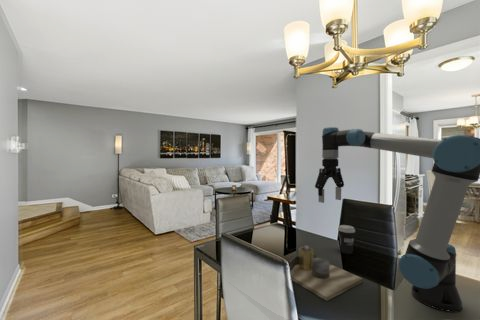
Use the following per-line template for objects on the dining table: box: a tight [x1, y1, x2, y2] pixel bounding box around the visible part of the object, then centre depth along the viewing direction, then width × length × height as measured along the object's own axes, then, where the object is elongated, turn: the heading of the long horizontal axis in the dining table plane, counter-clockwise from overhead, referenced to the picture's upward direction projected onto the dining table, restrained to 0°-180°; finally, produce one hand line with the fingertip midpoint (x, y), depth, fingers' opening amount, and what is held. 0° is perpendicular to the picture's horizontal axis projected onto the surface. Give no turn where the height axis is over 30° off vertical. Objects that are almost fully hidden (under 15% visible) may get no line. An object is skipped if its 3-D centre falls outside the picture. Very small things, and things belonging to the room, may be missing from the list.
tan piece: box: [298, 246, 315, 271], centre depth 115 cm, size 7×7×9 cm
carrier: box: [287, 244, 364, 302], centre depth 109 cm, size 28×26×12 cm
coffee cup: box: [337, 224, 356, 255], centre depth 138 cm, size 10×10×15 cm
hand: (330, 201), depth 115 cm, fingers open, 13 cm apart
